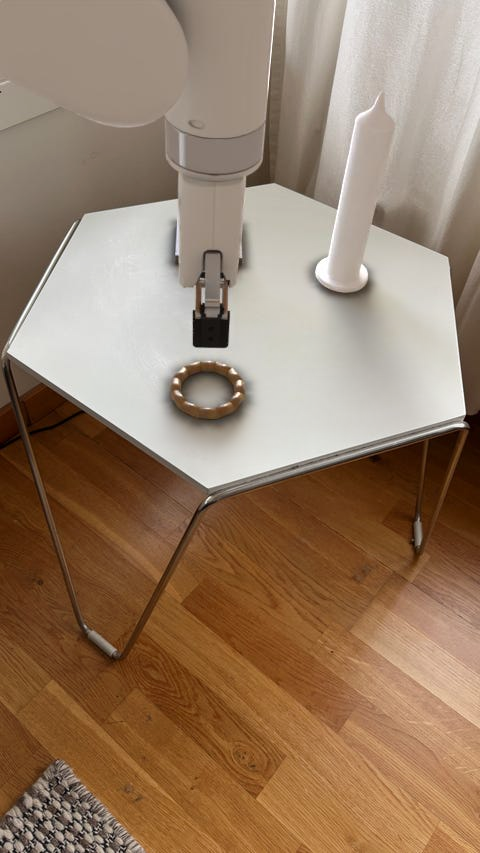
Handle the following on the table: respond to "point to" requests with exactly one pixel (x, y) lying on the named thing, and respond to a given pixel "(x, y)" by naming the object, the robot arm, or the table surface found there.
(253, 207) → the table surface
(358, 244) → the candle
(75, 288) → the table surface
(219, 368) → the ring
